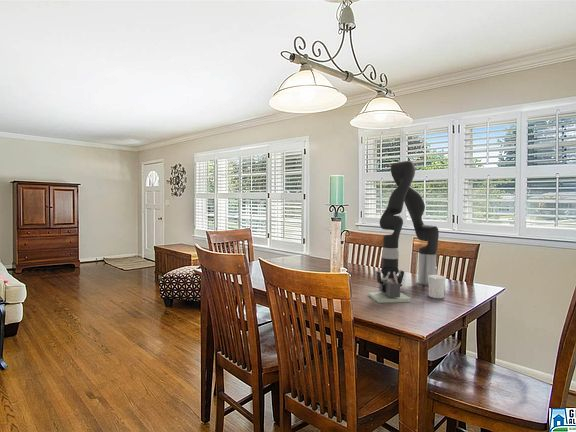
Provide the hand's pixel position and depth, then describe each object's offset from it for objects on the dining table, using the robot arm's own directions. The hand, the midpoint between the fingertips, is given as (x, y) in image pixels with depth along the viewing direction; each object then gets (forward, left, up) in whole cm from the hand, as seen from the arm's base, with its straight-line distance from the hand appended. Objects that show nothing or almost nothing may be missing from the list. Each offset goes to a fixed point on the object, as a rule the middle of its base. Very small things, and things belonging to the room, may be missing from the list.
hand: (389, 292), depth 174 cm
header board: (0, 0, -3) cm, 3 cm away
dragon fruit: (-9, -15, -3) cm, 18 cm away
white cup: (-25, -1, -3) cm, 25 cm away
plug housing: (0, 0, -1) cm, 1 cm away
